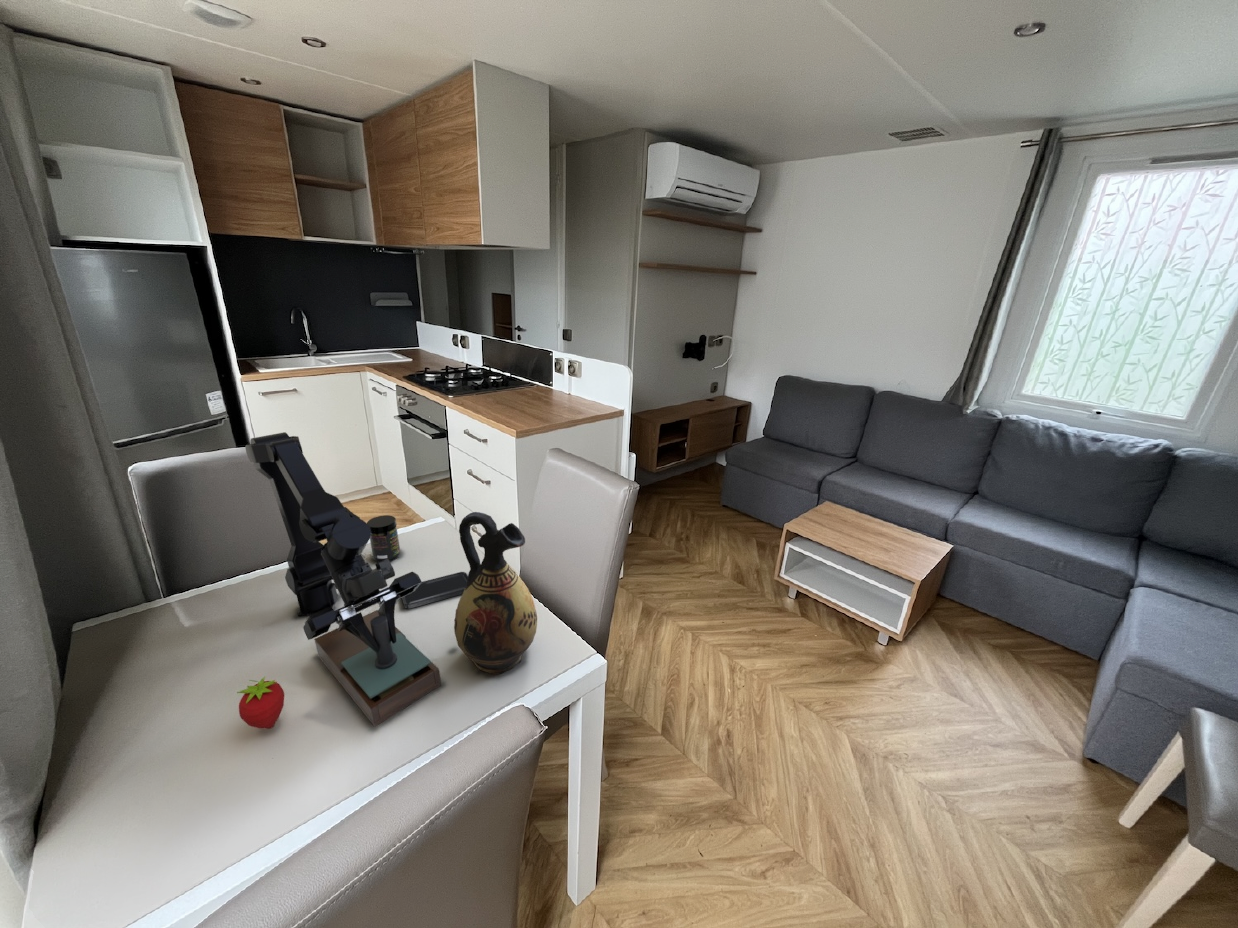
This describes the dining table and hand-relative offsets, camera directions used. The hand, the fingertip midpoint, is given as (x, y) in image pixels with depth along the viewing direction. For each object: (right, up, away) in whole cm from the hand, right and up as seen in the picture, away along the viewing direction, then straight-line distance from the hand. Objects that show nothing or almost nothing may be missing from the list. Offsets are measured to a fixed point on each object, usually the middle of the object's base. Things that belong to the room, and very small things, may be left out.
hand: (386, 647), depth 85 cm
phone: (-2, +2, +30) cm, 30 cm away
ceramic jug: (+16, -6, +12) cm, 21 cm away
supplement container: (-21, +7, +44) cm, 49 cm away
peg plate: (-1, -4, +2) cm, 5 cm away
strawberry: (-17, -11, -5) cm, 21 cm away
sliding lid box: (-5, -7, +7) cm, 11 cm away
